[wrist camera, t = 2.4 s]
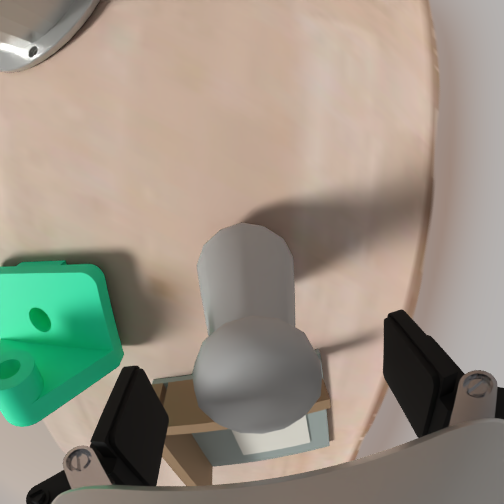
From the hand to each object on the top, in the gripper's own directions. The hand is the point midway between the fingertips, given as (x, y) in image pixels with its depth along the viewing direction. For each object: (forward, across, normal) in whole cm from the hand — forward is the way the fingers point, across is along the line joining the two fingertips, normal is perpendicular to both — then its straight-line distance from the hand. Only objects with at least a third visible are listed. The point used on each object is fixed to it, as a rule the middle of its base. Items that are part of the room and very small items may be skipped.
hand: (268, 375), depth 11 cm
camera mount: (+11, +17, -1) cm, 20 cm away
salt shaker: (+11, 0, -1) cm, 11 cm away
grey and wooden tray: (+11, +4, +15) cm, 19 cm away
